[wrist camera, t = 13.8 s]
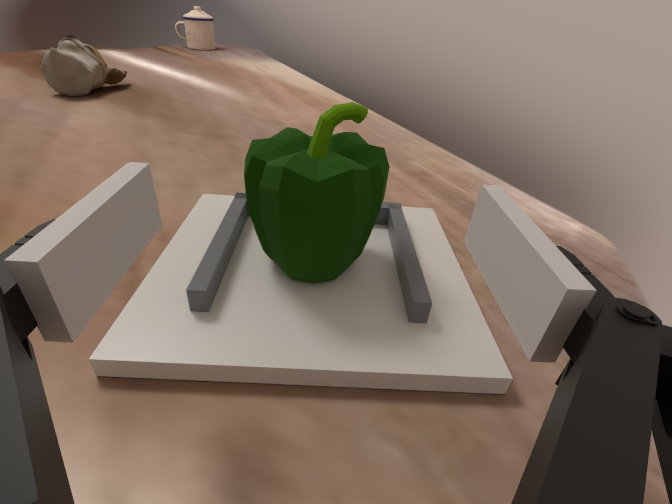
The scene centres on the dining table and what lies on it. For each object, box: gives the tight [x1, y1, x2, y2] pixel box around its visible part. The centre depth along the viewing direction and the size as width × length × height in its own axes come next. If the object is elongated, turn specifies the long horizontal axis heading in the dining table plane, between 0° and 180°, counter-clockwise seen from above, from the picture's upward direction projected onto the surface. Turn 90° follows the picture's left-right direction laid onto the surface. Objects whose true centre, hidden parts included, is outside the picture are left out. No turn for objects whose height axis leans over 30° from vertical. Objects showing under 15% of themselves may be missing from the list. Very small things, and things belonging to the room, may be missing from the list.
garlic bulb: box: [41, 35, 127, 96], centre depth 63 cm, size 11×9×15 cm
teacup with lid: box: [175, 6, 215, 50], centre depth 120 cm, size 12×9×12 cm
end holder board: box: [89, 193, 513, 394], centre depth 25 cm, size 20×18×3 cm
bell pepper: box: [244, 102, 389, 283], centre depth 22 cm, size 8×8×10 cm
